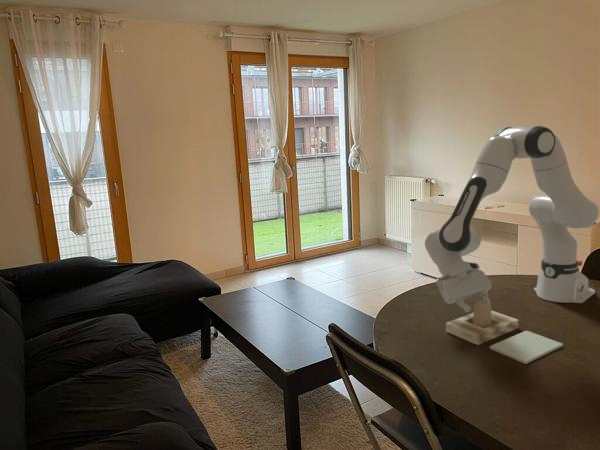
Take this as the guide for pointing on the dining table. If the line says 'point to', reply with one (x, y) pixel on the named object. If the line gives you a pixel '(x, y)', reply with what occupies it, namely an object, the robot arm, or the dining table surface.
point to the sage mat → (526, 346)
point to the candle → (482, 314)
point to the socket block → (480, 335)
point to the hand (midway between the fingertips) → (478, 307)
